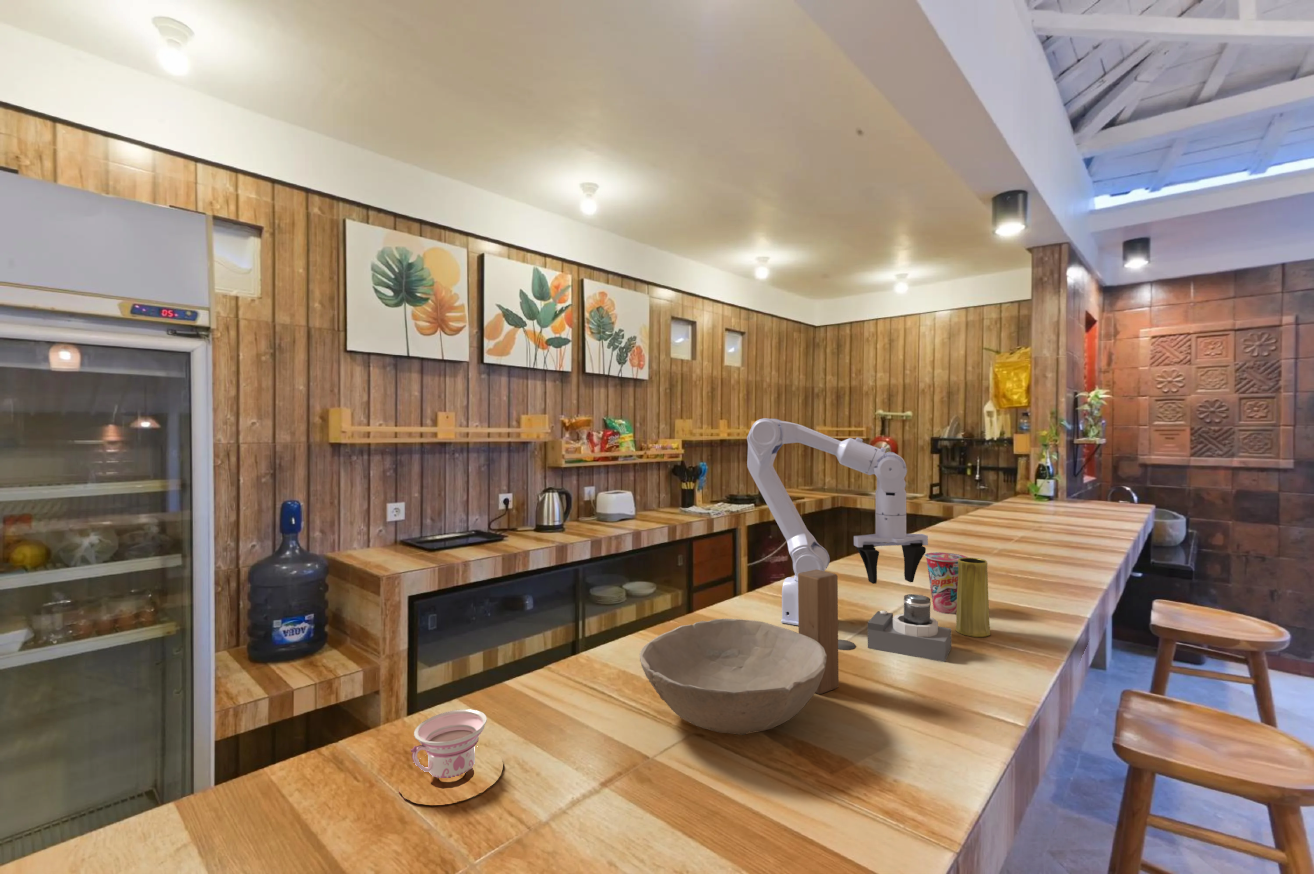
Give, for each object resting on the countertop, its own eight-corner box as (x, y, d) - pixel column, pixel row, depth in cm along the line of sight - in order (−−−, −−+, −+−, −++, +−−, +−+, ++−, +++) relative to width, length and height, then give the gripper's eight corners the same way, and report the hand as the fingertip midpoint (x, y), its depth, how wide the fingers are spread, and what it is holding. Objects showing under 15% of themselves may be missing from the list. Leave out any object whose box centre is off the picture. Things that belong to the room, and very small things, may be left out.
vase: (982, 627, 121) (981, 556, 121) (996, 638, 115) (995, 563, 115) (950, 626, 122) (950, 556, 122) (963, 637, 116) (962, 563, 116)
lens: (909, 634, 108) (909, 600, 107) (899, 626, 112) (899, 593, 112) (934, 634, 108) (935, 600, 107) (923, 626, 112) (924, 593, 112)
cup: (928, 614, 130) (927, 559, 130) (922, 603, 138) (922, 551, 138) (976, 617, 127) (975, 561, 127) (967, 606, 135) (967, 553, 135)
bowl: (671, 787, 69) (670, 700, 69) (622, 690, 95) (622, 627, 94) (870, 751, 76) (870, 672, 76) (775, 670, 102) (774, 611, 101)
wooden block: (777, 675, 99) (776, 567, 99) (796, 669, 102) (795, 563, 101) (820, 695, 92) (818, 578, 92) (839, 688, 94) (838, 573, 94)
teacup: (468, 740, 80) (467, 694, 80) (524, 772, 73) (523, 721, 73) (378, 781, 71) (377, 730, 71) (432, 823, 64) (431, 765, 63)
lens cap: (824, 648, 112) (824, 645, 112) (832, 640, 116) (832, 637, 116) (851, 653, 109) (851, 650, 109) (858, 645, 113) (858, 642, 113)
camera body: (867, 647, 111) (867, 619, 111) (878, 634, 118) (877, 608, 118) (945, 661, 104) (944, 631, 104) (951, 647, 111) (951, 618, 111)
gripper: (864, 517, 115) (864, 588, 115) (936, 515, 116) (936, 585, 117) (849, 512, 122) (849, 579, 122) (917, 510, 123) (917, 576, 124)
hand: (890, 581), depth 120 cm, fingers open, 7 cm apart
